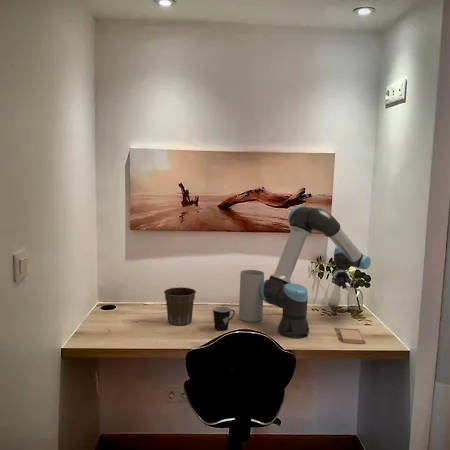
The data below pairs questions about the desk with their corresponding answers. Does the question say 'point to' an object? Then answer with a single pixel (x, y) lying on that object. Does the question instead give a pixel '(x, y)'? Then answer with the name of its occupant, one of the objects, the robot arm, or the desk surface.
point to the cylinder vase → (251, 295)
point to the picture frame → (350, 336)
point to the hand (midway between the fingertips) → (348, 288)
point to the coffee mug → (222, 318)
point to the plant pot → (179, 305)
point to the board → (346, 329)
